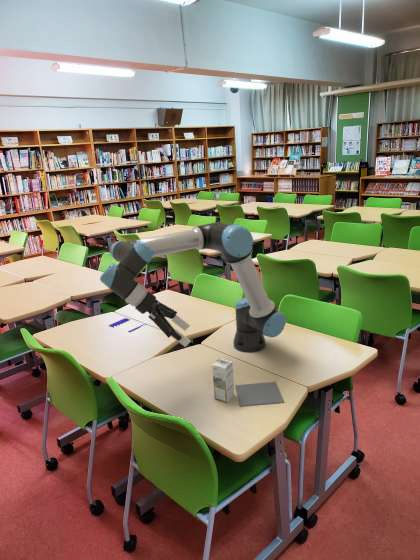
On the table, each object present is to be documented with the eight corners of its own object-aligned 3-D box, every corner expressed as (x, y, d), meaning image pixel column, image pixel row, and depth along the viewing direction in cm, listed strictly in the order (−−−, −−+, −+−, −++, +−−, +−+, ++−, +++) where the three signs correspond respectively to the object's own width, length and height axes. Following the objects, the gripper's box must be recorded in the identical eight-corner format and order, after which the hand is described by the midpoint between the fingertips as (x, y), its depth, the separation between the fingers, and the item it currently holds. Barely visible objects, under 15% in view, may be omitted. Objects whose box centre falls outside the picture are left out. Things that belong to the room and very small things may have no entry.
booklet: (139, 336, 217) (139, 334, 217) (108, 326, 232) (108, 325, 232) (156, 327, 227) (156, 326, 226) (125, 319, 242) (125, 317, 241)
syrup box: (234, 395, 158) (233, 360, 154) (227, 403, 154) (225, 367, 150) (221, 391, 162) (219, 357, 157) (213, 399, 157) (211, 364, 153)
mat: (235, 386, 165) (235, 385, 164) (275, 382, 165) (275, 381, 165) (240, 406, 151) (240, 405, 151) (284, 402, 152) (284, 401, 152)
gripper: (137, 295, 157) (180, 329, 162) (129, 320, 133) (180, 359, 138) (150, 280, 156) (193, 315, 161) (144, 303, 132) (195, 343, 137)
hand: (187, 335), depth 149 cm, fingers open, 13 cm apart
